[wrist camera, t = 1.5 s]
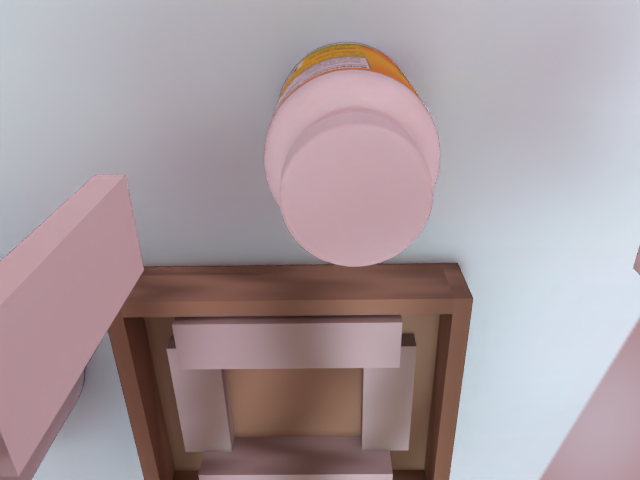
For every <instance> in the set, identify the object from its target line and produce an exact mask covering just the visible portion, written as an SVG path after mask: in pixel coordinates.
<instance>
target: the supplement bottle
mask: <svg viewBox="0 0 640 480" xmlns="http://www.w3.org/2000/svg"><path fill="white" fill-rule="evenodd" d="M264 164H265V173H266V179H267V182H268V185H269V188H270V191H271V193H272V195H273V197H274V199H275V201H276V203H277V204H278V206H279V207H280V209H281V213H282V217H283V219H284V222H285V224H286V226H287V228H288V230H289V232H290V234H291V235H292V237H293V238H294V239H295V240H296V242H297V243H298V244H299V245H300V246H302V247H303V248H304V249H305V250H306V251H307V252H309V253H310V254H312V255H313V256H315V257H317V258H319V259H321V260H323V261H326V262H329V263H332V264H336V265H341V266H350V267H359V266H368V265H373V264H377V263H380V262H383V261H386V260H388V259H390V258H392V257H394V256H396V255H397V254H399V253H401V252H402V251H403V250H405V249H406V248H407V247H408V246H409V245H410V244H411V243H412V242H413V241H414V240H415V239H416V238H417V237H418V235H419V234H420V233H421V231H422V230H423V228H424V226H425V224H426V222H427V220H428V217H429V215H430V211H431V207H432V201H433V188H434V186H435V183H436V180H437V177H438V172H439V166H440V145H439V138H438V134H437V131H436V128H435V125H434V122H433V120H432V118H431V116H430V114H429V112H428V110H427V109H426V107H425V106H424V104H423V103H422V101H421V100H420V98H419V97H418V95H417V94H416V92H415V91H414V89H413V88H412V86H411V85H410V83H409V82H408V80H407V79H406V77H405V76H404V74H403V73H402V72H401V70H400V69H399V68H398V67H397V65H396V64H395V63H394V62H393V61H392V60H391V59H389V58H388V57H387V56H386V55H384V54H383V53H382V52H380V51H378V50H376V49H374V48H372V47H369V46H367V45H363V44H358V43H336V44H330V45H327V46H324V47H321V48H319V49H317V50H315V51H313V52H311V53H310V54H308V55H307V56H306V57H305V58H303V59H302V60H301V61H300V62H299V63H298V64H297V65H296V66H295V67H294V69H293V70H292V71H291V73H290V74H289V76H288V78H287V79H286V81H285V84H284V86H283V88H282V91H281V94H280V97H279V100H278V103H277V106H276V109H275V112H274V115H273V118H272V121H271V124H270V127H269V130H268V134H267V138H266V143H265V152H264Z"/></svg>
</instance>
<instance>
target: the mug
mask: <svg viewBox="0 0 640 480" xmlns="http://www.w3.org/2000/svg"><path fill="white" fill-rule="evenodd" d="M83 382H84V370H83V371H82V373H81V375H80V376H79V378H78V380H77V381H76V383H75V384H74V386H73V388H72V389H71V391H70V393H69V394H68V396H67V398H66V399H65V401H64V403H63V404H62V406H61V408H60V409H59V411H58V413H57V414H56V416H55V417H54V419H53V421H52V422H51V424H50V426H49V427H48V429H47V431H46V432H45V434H44V436H43V437H42V439H41V441H40V442H39V444H38V445H37V447H36V449H35V450H34V452H33V454H32V455H31V457H30V459H29V460H28V462H27V464H26V465H25V467H24V469H23V470H22V472H21V473H20V475H19V477H0V480H32V478H33V476H34V474H35V473H36V471H37V469H38V467H39V466H40V464H41V462H42V460H43V458H44V457H45V455H46V453H47V451H48V450H49V448H50V446H51V444H52V443H53V441H54V439H55V437H56V436H57V434H58V432H59V431H60V429H61V427H62V426H63V424H64V422H65V421H66V419H67V417H68V416H69V414H70V412H71V411H72V409H73V407H74V406H75V404H76V402H77V400H78V398H79V396H80V393H81V391H82V387H83Z"/></svg>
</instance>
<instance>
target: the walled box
mask: <svg viewBox="0 0 640 480" xmlns="http://www.w3.org/2000/svg"><path fill="white" fill-rule="evenodd" d="M472 303H473V297H472V295H471V292H470V290H469V288H468V286H467V283H466V281H465V279H464V276H463V274H462V272H461V270H460V267H459V265H458V263H456V264H373V265H368V266H359V267H350V266H341V265H285V266H199V267H144V271H143V272H142V274H141V276H140V277H139V279H138V281H137V282H136V284H135V286H134V287H133V289H132V291H131V292H130V294H129V296H128V297H127V299H126V300H125V302H124V304H123V305H122V307H121V309H120V310H119V312H118V314H117V315H116V317H115V319H114V320H113V322H112V324H111V325H110V327H109V328H108V333H109V337H110V341H111V345H112V349H113V353H114V357H115V361H116V366H117V370H118V374H119V378H120V382H121V386H122V390H123V394H124V398H125V402H126V406H127V411H128V415H129V419H130V423H131V427H132V431H133V435H134V439H135V443H136V447H137V452H138V456H139V460H140V464H141V468H142V472H143V476H144V480H449V476H450V468H451V461H452V453H453V446H454V438H455V431H456V423H457V416H458V408H459V401H460V393H461V386H462V378H463V371H464V363H465V356H466V348H467V341H468V333H469V326H470V318H471V311H472Z"/></svg>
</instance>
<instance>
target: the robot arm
mask: <svg viewBox="0 0 640 480" xmlns="http://www.w3.org/2000/svg"><path fill="white" fill-rule="evenodd" d="M633 268H634V269H635V270H636V272H637V273H638V274H639V275H640V246H639V249H638V253H637V256H636V260H635V263H634V267H633ZM143 271H144V267H143V262H142V257H141V252H140V247H139V242H138V236H137V231H136V226H135V221H134V216H133V211H132V206H131V201H130V196H129V190H128V185H127V180H126V175H94V176H93V177H92V178H91V179H90V180H89V181H88V182H87V183H86V184H85V185H83V186H82V187H81V188H80V189H79V190H78V191H77V192H76V193H75V194H74V195H73V196H71V197H70V198H69V199H68V200H67V201H66V202H65V203H64V204H63V205H62V206H60V207H59V208H58V209H57V210H56V211H55V212H54V213H53V214H52V215H51V216H50V217H48V218H47V219H46V220H45V221H44V222H43V223H42V224H41V225H40V226H39V227H37V228H36V229H35V230H34V231H33V232H32V233H31V234H30V235H29V236H28V237H27V238H25V239H24V240H23V241H22V242H21V243H20V244H19V245H18V246H17V247H16V248H14V249H13V250H12V251H11V252H10V253H9V254H8V255H7V256H6V257H5V258H4V259H2V260H1V261H0V477H19V475H20V473H21V472H22V470H23V469H24V467H25V465H26V464H27V462H28V460H29V459H30V457H31V455H32V454H33V452H34V450H35V449H36V447H37V445H38V444H39V442H40V441H41V439H42V437H43V436H44V434H45V432H46V431H47V429H48V427H49V426H50V424H51V422H52V421H53V419H54V417H55V416H56V414H57V413H58V411H59V409H60V408H61V406H62V404H63V403H64V401H65V399H66V398H67V396H68V394H69V393H70V391H71V389H72V388H73V386H74V384H75V383H76V381H77V380H78V378H79V376H80V375H81V373H82V371H83V370H84V368H85V366H86V365H87V363H88V361H89V360H90V358H91V356H92V355H93V353H94V352H95V350H96V348H97V347H98V345H99V343H100V342H101V340H102V338H103V337H104V335H105V333H106V332H107V330H108V328H109V327H110V325H111V324H112V322H113V320H114V319H115V317H116V315H117V314H118V312H119V310H120V309H121V307H122V305H123V304H124V302H125V300H126V299H127V297H128V296H129V294H130V292H131V291H132V289H133V287H134V286H135V284H136V282H137V281H138V279H139V277H140V276H141V274H142V272H143Z"/></svg>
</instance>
